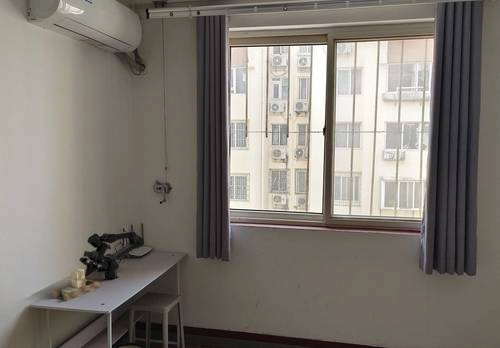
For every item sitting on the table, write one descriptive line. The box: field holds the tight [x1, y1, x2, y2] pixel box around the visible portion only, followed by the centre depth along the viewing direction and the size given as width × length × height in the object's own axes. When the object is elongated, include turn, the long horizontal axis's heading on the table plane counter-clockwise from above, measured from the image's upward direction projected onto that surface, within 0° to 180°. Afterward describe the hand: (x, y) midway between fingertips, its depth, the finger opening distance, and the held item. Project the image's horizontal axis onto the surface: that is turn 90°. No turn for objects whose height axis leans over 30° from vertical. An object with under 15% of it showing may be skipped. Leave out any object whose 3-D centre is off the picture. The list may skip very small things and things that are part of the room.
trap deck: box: [51, 278, 101, 302], centre depth 236 cm, size 22×12×3 cm, turn 151°
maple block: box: [70, 268, 86, 288], centre depth 237 cm, size 5×5×9 cm
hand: (86, 275), depth 242 cm, fingers closed
